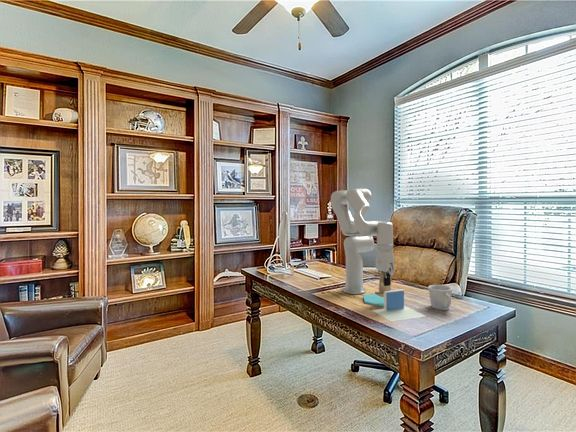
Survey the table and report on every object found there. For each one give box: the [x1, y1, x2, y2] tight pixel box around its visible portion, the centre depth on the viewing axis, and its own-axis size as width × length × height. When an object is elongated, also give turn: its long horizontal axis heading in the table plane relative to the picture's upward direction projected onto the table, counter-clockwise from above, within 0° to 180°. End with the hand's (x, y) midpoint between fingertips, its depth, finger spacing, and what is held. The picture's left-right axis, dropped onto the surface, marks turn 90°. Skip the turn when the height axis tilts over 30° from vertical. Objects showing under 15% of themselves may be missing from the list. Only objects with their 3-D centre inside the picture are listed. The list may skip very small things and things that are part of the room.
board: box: [372, 305, 427, 322], centre depth 147 cm, size 15×18×1 cm
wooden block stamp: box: [374, 272, 393, 297], centre depth 159 cm, size 6×7×11 cm
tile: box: [383, 288, 405, 311], centre depth 152 cm, size 2×10×9 cm, turn 107°
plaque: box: [362, 293, 384, 308], centre depth 166 cm, size 18×2×20 cm
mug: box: [427, 284, 453, 311], centre depth 152 cm, size 10×15×10 cm
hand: (385, 284), depth 159 cm, fingers closed on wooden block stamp
